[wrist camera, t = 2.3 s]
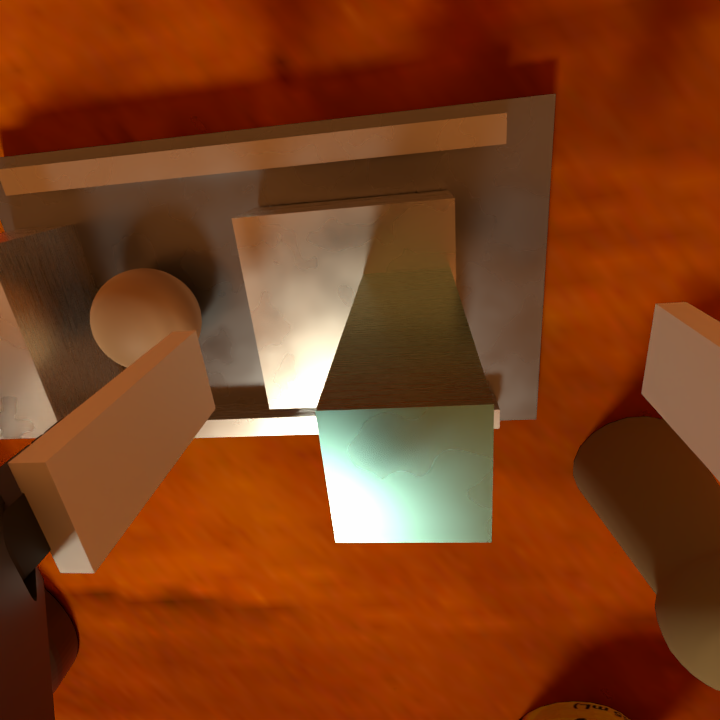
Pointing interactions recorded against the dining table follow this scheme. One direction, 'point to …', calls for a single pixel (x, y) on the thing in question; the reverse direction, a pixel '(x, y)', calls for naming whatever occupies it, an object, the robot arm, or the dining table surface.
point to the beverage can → (574, 712)
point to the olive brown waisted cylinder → (662, 528)
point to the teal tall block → (376, 360)
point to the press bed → (220, 253)
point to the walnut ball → (141, 313)
